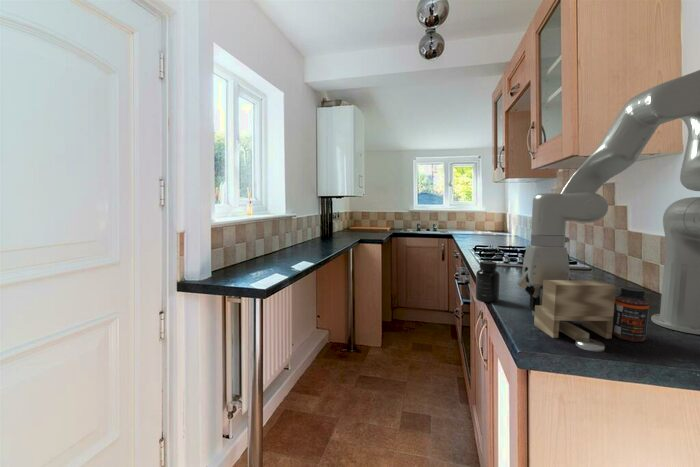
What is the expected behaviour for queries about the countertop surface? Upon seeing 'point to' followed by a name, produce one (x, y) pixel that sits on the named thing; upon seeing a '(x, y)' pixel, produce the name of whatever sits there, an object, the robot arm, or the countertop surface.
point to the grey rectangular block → (566, 324)
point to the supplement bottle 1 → (487, 282)
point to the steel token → (590, 344)
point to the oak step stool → (576, 306)
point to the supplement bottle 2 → (630, 315)
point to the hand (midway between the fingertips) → (543, 310)
